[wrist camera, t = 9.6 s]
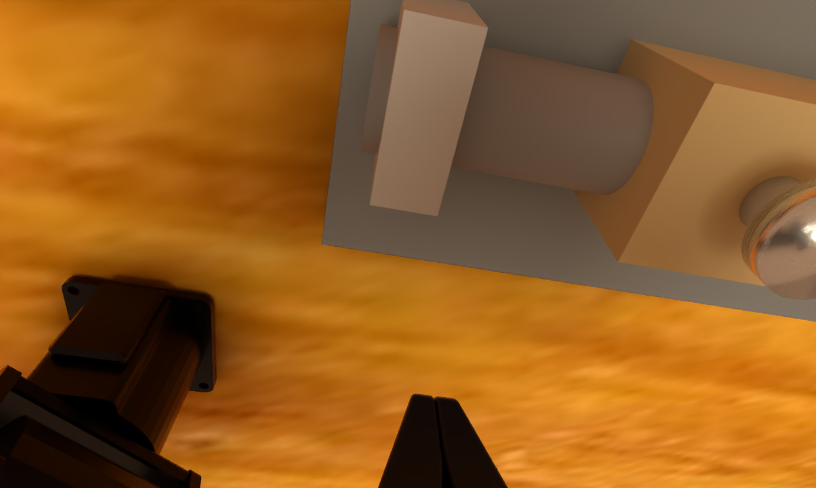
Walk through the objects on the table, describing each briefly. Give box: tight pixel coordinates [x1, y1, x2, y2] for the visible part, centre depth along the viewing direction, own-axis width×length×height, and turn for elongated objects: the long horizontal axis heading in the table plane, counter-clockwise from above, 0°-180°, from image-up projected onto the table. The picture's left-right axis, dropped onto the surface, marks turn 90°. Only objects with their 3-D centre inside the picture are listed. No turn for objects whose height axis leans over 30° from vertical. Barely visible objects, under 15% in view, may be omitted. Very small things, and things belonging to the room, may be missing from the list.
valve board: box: [322, 0, 816, 321], centre depth 15 cm, size 14×24×8 cm, turn 79°
